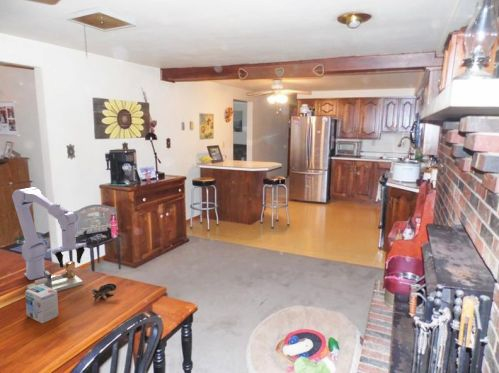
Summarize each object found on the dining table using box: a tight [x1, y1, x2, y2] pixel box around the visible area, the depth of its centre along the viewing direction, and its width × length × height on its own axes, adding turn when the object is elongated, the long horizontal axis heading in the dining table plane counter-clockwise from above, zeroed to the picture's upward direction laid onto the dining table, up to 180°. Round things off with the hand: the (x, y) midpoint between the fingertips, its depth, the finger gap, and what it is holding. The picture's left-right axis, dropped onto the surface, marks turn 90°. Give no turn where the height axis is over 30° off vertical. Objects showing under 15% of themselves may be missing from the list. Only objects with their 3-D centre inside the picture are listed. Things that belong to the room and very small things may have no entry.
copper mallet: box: [34, 260, 76, 286], centre depth 158 cm, size 4×17×7 cm, turn 137°
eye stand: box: [26, 269, 84, 292], centre depth 158 cm, size 12×20×8 cm, turn 137°
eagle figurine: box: [91, 283, 117, 302], centre depth 149 cm, size 8×7×9 cm
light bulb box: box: [24, 285, 59, 324], centre depth 133 cm, size 11×7×11 cm, turn 62°
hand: (70, 264), depth 162 cm, fingers open, 7 cm apart
